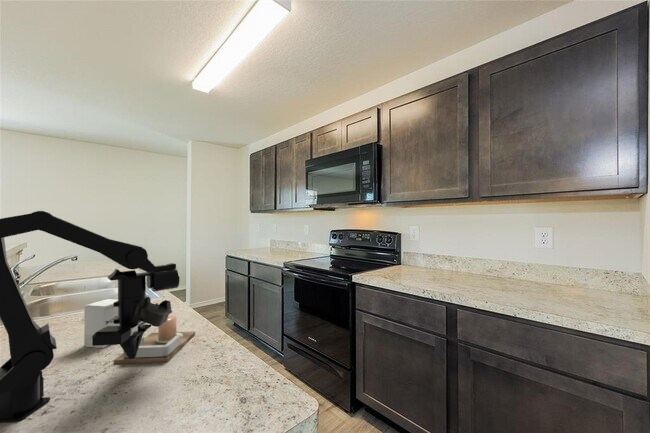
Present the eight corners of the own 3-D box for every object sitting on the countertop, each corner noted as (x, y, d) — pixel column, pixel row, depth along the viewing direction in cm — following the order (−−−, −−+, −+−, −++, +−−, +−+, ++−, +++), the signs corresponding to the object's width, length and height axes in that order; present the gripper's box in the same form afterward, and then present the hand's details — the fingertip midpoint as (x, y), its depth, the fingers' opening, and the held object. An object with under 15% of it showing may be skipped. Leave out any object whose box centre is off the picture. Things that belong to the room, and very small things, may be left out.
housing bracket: (167, 356, 76) (167, 346, 76) (123, 357, 75) (123, 348, 75) (179, 344, 83) (179, 335, 83) (139, 345, 82) (139, 337, 82)
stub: (171, 340, 86) (171, 321, 86) (154, 341, 86) (154, 321, 86) (179, 334, 91) (179, 315, 91) (163, 334, 91) (163, 316, 91)
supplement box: (103, 348, 83) (103, 306, 84) (83, 346, 85) (83, 305, 85) (125, 338, 91) (125, 299, 91) (106, 336, 92) (106, 298, 92)
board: (167, 361, 75) (167, 357, 75) (113, 363, 74) (113, 359, 74) (195, 334, 93) (195, 331, 93) (151, 335, 92) (151, 332, 92)
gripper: (143, 305, 61) (143, 377, 61) (182, 285, 80) (182, 340, 80) (89, 307, 60) (90, 380, 60) (141, 286, 79) (142, 342, 79)
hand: (132, 358), depth 70 cm, fingers closed
